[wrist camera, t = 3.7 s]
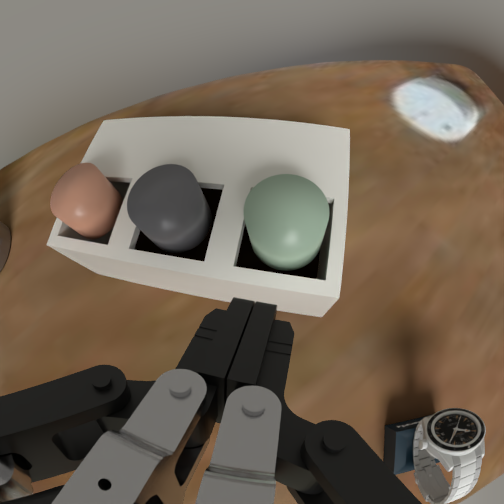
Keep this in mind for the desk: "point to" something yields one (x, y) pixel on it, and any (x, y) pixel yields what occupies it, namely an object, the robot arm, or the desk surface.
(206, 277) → the button console
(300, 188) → the sage button
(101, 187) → the terracotta button
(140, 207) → the charcoal button
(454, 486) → the watch
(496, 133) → the desk surface
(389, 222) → the desk surface
